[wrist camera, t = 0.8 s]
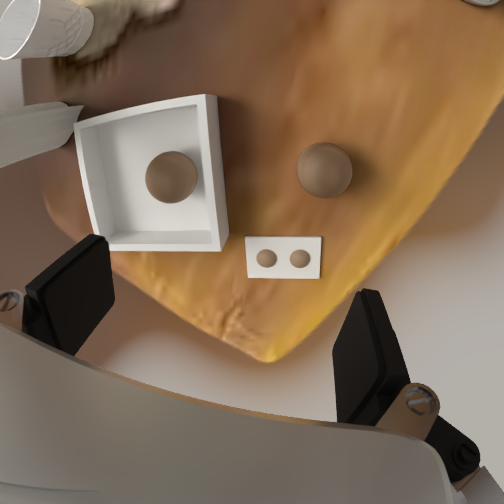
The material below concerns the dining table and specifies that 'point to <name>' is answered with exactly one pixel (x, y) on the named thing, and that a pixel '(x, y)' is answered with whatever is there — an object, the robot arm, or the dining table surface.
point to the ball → (171, 177)
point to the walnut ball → (324, 170)
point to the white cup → (44, 28)
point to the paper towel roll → (35, 129)
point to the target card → (283, 256)
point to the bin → (134, 169)
